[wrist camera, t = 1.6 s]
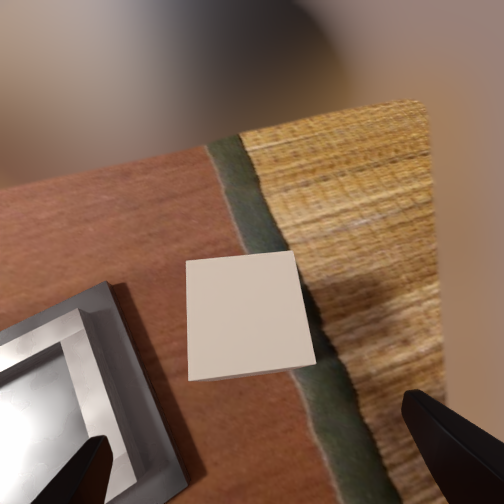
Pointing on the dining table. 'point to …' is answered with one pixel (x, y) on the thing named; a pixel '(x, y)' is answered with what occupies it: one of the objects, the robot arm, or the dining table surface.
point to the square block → (245, 317)
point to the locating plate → (82, 403)
